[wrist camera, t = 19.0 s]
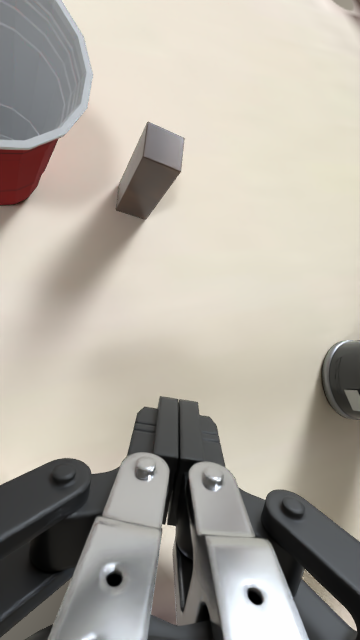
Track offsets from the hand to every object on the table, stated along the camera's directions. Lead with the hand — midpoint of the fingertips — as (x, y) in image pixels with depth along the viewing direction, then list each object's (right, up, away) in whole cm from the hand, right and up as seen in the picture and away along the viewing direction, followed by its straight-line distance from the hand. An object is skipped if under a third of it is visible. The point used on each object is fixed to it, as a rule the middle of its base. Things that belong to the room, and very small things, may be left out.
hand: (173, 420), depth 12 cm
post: (-4, +15, +18) cm, 24 cm away
